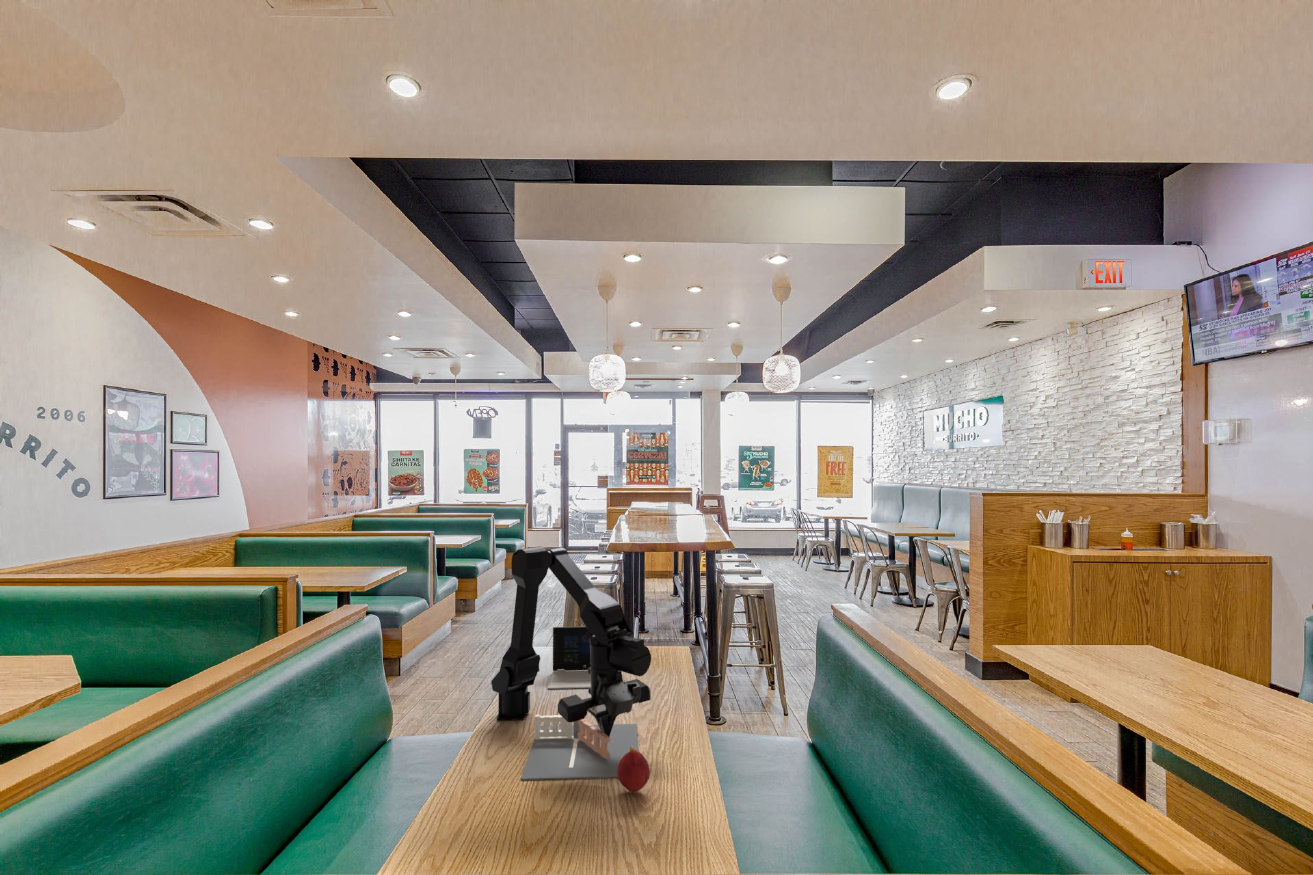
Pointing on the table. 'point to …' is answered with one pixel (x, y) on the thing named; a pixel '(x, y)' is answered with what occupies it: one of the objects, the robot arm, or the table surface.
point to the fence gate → (591, 737)
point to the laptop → (570, 658)
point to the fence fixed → (565, 727)
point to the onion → (633, 771)
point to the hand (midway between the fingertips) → (606, 741)
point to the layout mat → (578, 756)
